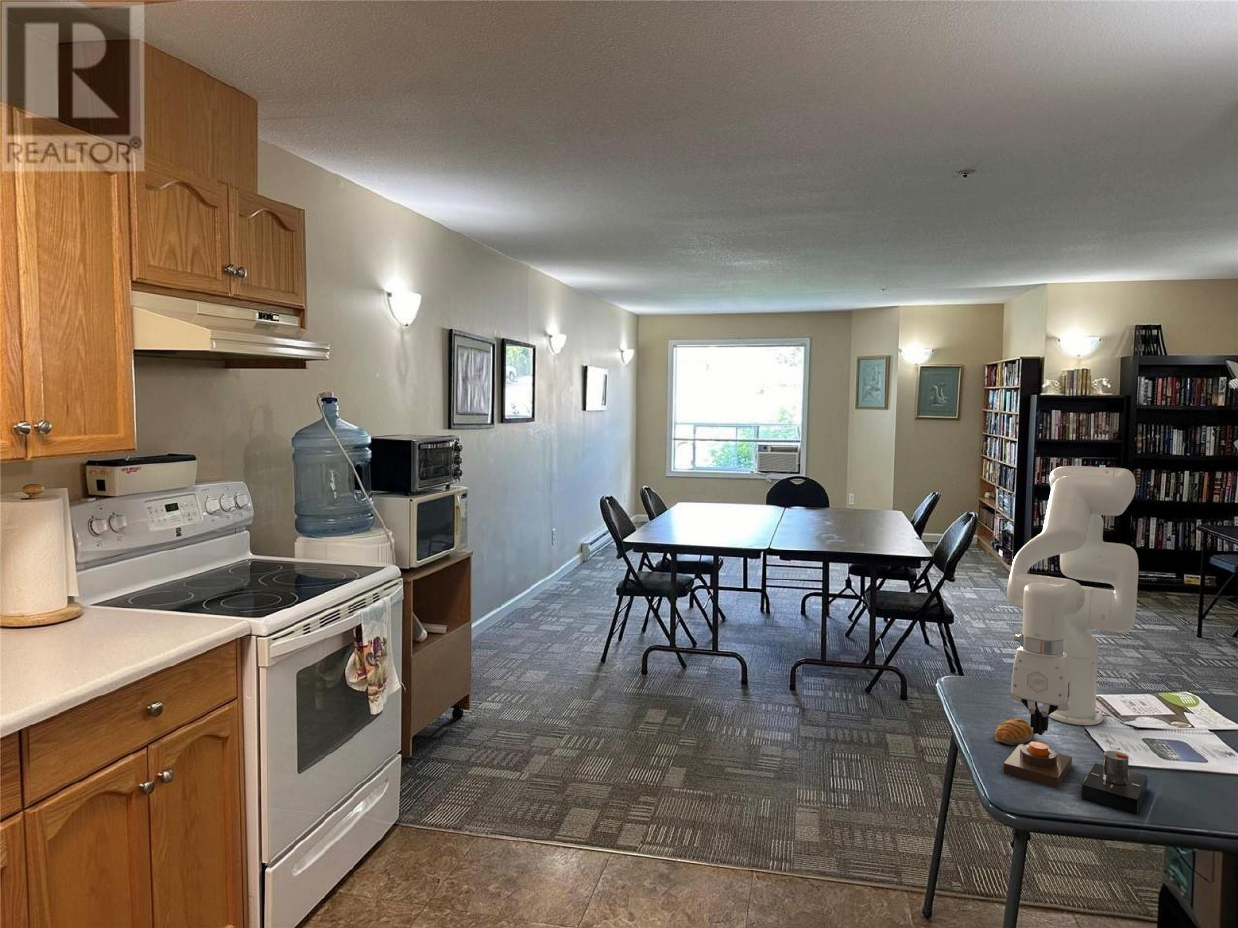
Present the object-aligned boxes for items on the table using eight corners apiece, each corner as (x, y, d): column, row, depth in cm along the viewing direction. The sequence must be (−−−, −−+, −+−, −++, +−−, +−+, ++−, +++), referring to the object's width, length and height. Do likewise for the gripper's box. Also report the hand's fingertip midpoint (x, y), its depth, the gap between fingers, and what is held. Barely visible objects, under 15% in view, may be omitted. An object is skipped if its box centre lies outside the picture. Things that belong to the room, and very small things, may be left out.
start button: (1031, 747, 170) (1031, 739, 170) (1050, 752, 168) (1050, 744, 168) (1026, 753, 167) (1026, 745, 167) (1045, 758, 165) (1046, 750, 165)
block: (1019, 753, 176) (1020, 735, 175) (1071, 766, 169) (1072, 748, 169) (1003, 773, 167) (1004, 754, 166) (1057, 788, 160) (1058, 768, 160)
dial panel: (1094, 776, 165) (1095, 761, 164) (1146, 790, 159) (1147, 774, 159) (1081, 799, 156) (1082, 783, 155) (1136, 815, 150) (1137, 798, 150)
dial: (1101, 780, 157) (1102, 754, 156) (1105, 773, 160) (1106, 746, 159) (1125, 786, 154) (1127, 759, 154) (1128, 778, 157) (1130, 752, 157)
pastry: (1016, 750, 177) (1016, 733, 177) (986, 740, 182) (986, 723, 182) (1036, 738, 183) (1036, 722, 183) (1006, 729, 188) (1006, 713, 188)
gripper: (997, 641, 167) (994, 728, 169) (1079, 656, 158) (1075, 748, 159) (1008, 633, 173) (1005, 717, 175) (1088, 647, 163) (1084, 736, 165)
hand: (1038, 732), depth 167 cm, fingers closed
